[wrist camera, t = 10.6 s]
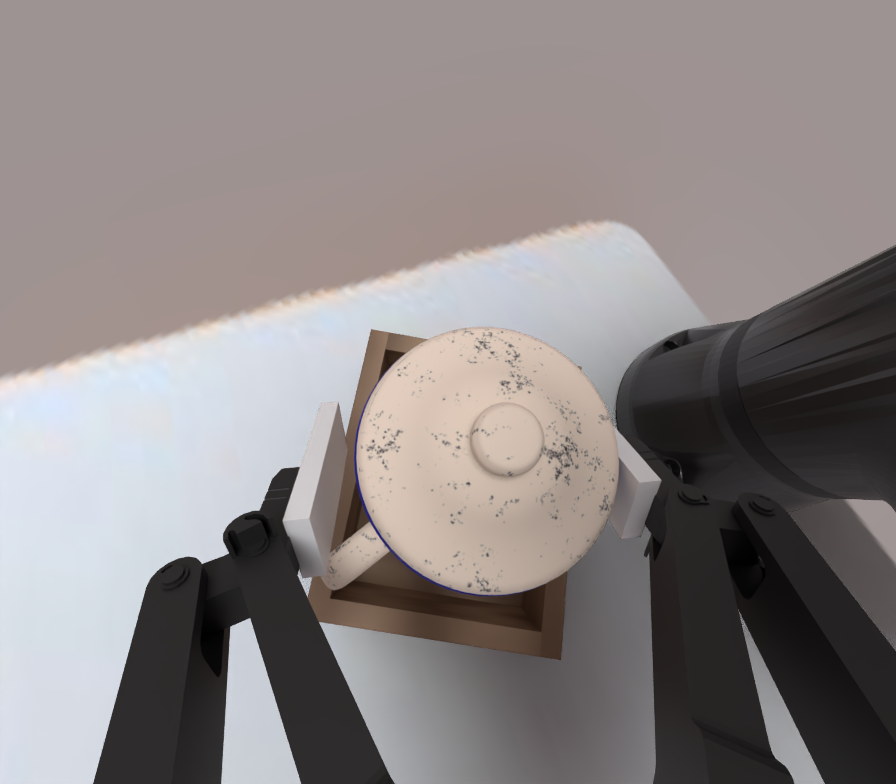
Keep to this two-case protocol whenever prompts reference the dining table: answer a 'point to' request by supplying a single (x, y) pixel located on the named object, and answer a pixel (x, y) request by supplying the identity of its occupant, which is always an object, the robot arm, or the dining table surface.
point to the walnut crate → (414, 598)
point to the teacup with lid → (481, 465)
